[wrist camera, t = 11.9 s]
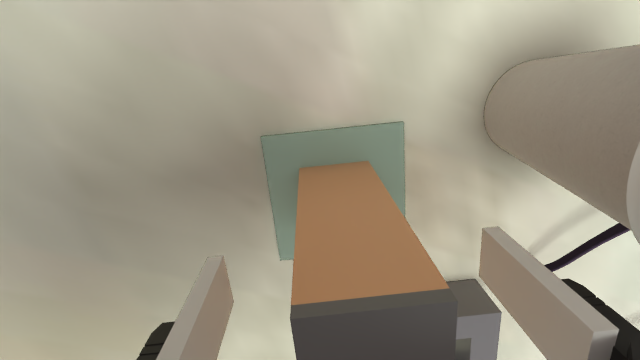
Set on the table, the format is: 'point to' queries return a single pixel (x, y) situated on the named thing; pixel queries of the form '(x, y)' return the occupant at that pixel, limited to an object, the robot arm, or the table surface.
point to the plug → (363, 274)
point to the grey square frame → (475, 322)
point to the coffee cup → (576, 125)
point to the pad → (327, 149)
